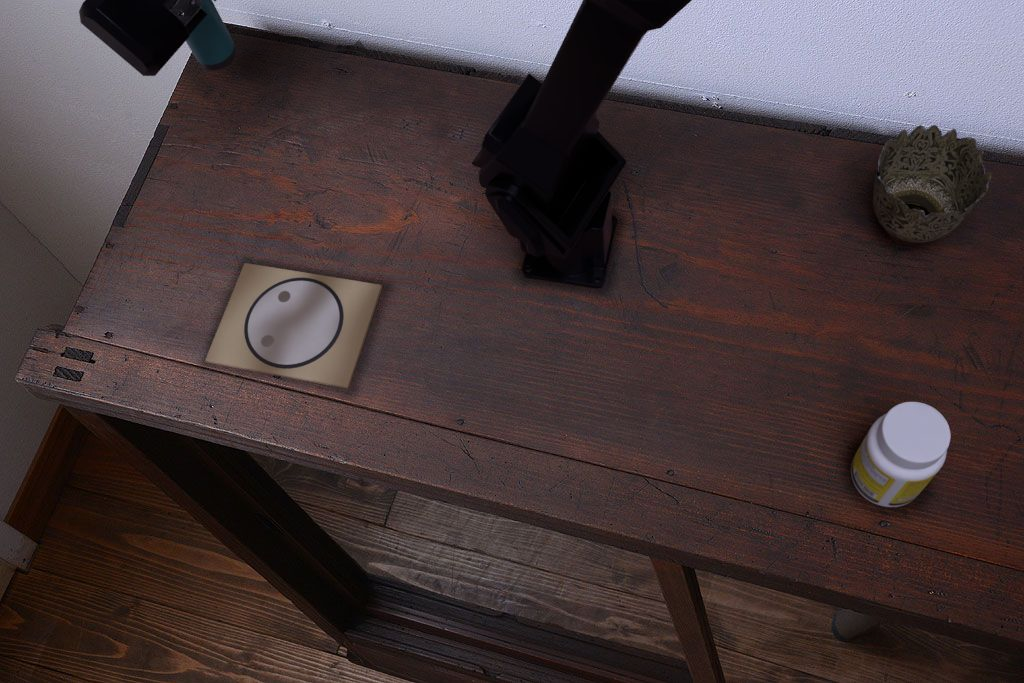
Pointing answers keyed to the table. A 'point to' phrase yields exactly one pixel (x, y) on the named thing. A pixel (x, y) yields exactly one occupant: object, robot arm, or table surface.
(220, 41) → the paint dauber
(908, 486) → the supplement bottle
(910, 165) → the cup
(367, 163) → the table surface
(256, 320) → the sketch board
